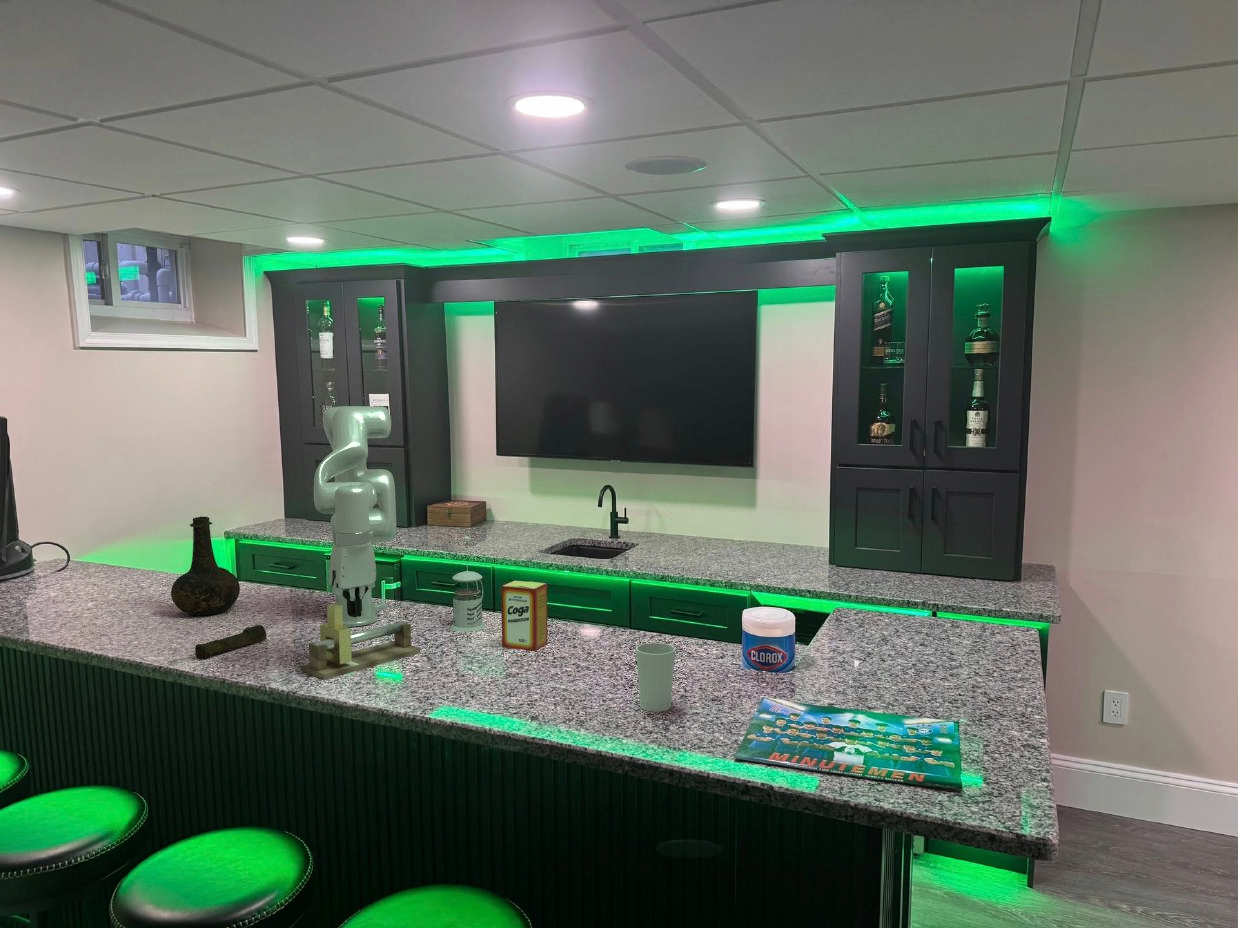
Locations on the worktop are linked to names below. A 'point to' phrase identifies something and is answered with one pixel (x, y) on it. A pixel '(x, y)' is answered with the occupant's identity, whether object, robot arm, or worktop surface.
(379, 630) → the pipe
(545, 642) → the baking soda box
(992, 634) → the worktop surface
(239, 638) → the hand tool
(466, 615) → the french press
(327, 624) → the collar
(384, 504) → the robot arm
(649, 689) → the cup
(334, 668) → the pipe stand
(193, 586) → the glass bottle
